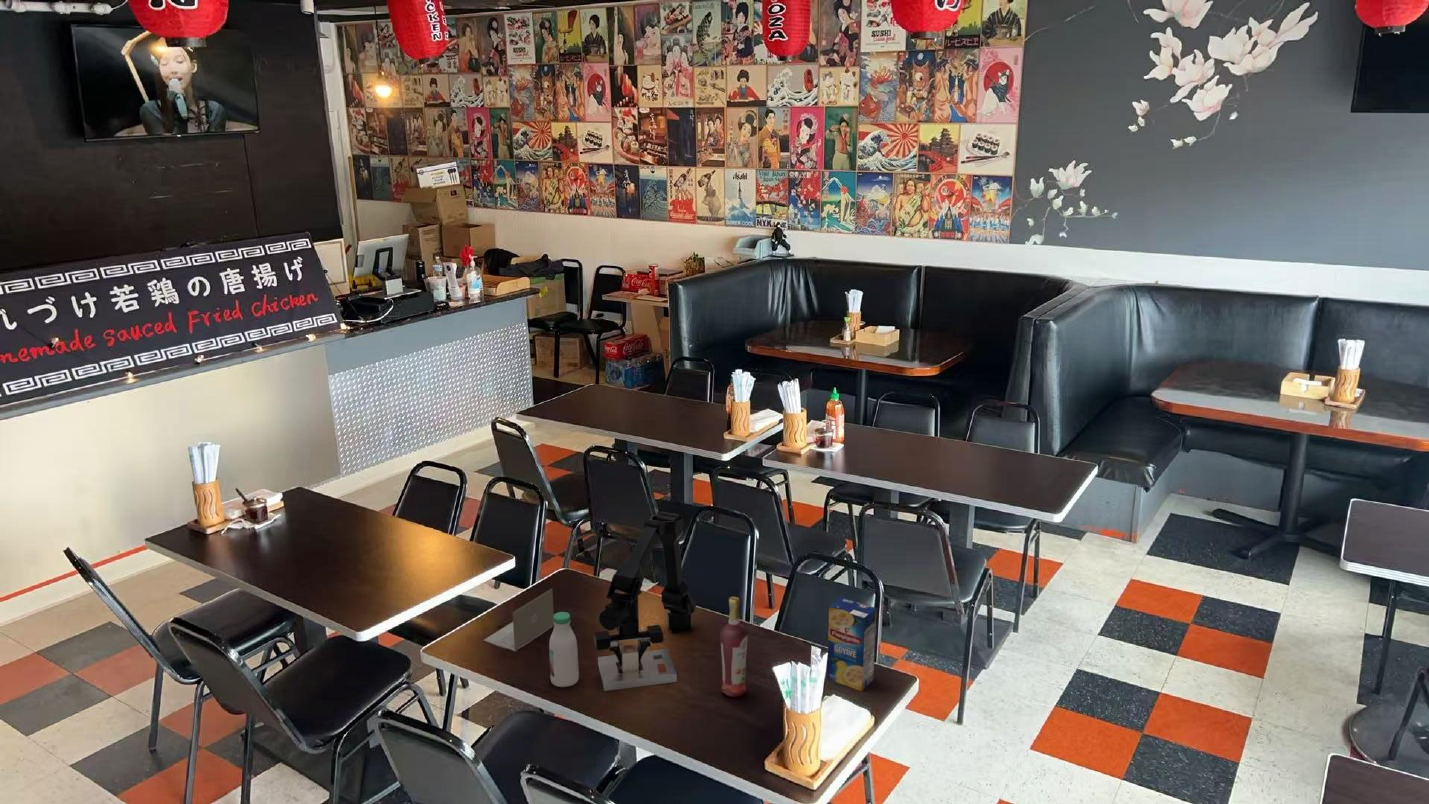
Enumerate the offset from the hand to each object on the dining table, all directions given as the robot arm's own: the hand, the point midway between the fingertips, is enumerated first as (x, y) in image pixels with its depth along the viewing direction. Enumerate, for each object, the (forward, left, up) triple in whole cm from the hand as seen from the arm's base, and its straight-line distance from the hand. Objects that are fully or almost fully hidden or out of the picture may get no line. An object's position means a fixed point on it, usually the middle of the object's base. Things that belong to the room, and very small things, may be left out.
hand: (629, 664), depth 283 cm
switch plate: (-2, 0, -3) cm, 4 cm away
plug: (0, 0, -1) cm, 1 cm away
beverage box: (-59, +17, -3) cm, 62 cm away
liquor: (-26, +16, -3) cm, 31 cm away
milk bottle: (+18, -1, -3) cm, 18 cm away
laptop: (+29, -31, -4) cm, 42 cm away
